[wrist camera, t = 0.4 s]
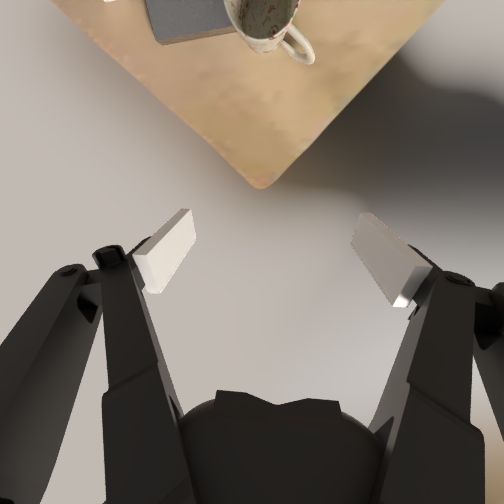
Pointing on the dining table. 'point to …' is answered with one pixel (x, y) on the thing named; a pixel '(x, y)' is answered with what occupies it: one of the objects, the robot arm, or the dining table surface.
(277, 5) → the mug
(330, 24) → the dining table surface
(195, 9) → the socket plate
